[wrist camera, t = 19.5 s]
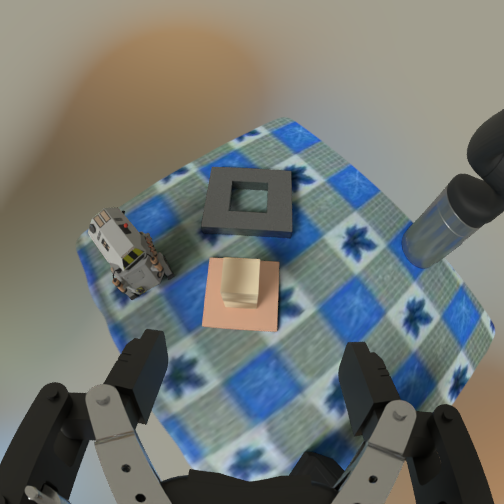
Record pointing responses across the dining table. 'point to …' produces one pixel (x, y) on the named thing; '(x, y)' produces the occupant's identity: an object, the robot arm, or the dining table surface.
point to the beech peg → (240, 282)
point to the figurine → (128, 252)
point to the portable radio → (318, 468)
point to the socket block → (248, 223)
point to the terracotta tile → (241, 317)
